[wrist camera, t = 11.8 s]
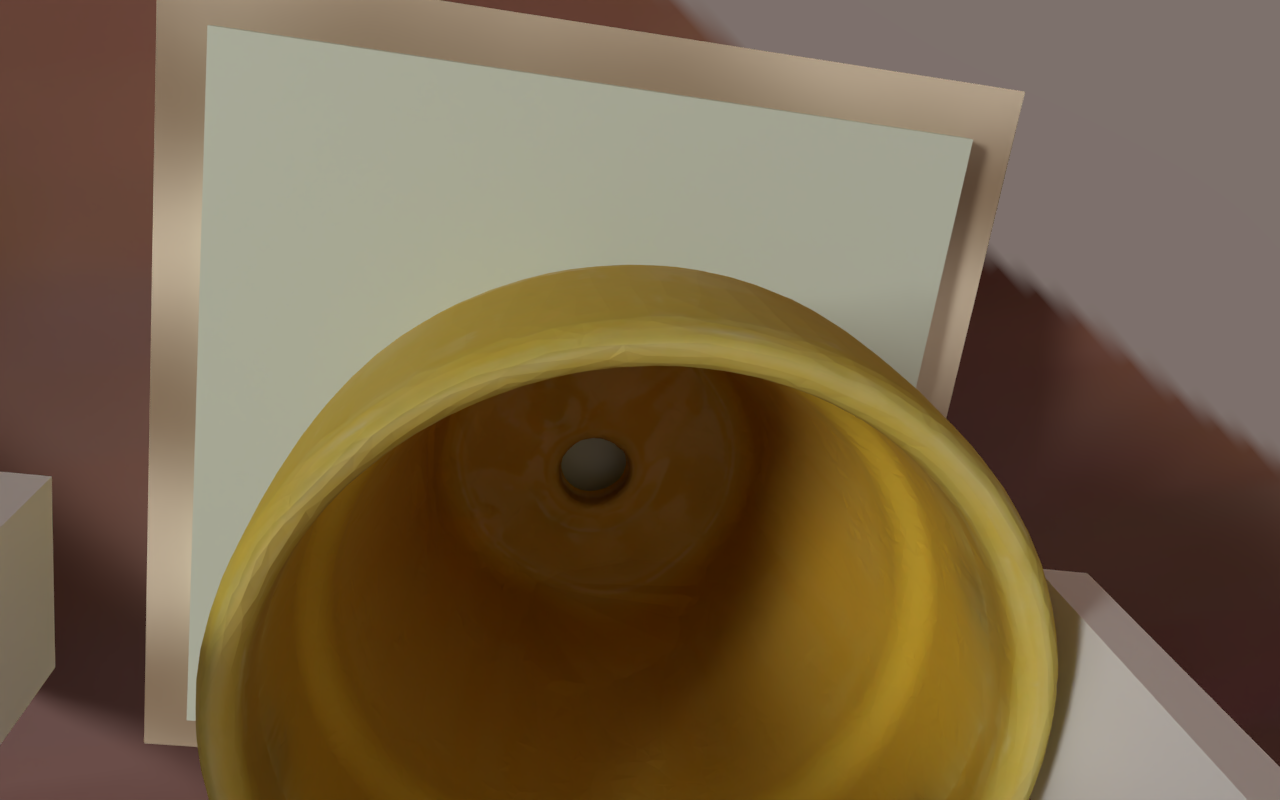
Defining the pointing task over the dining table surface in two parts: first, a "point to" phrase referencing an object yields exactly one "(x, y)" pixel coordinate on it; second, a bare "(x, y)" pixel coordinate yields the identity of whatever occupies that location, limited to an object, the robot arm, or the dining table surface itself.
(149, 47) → the dining table surface
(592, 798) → the plant pot
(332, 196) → the plinth
